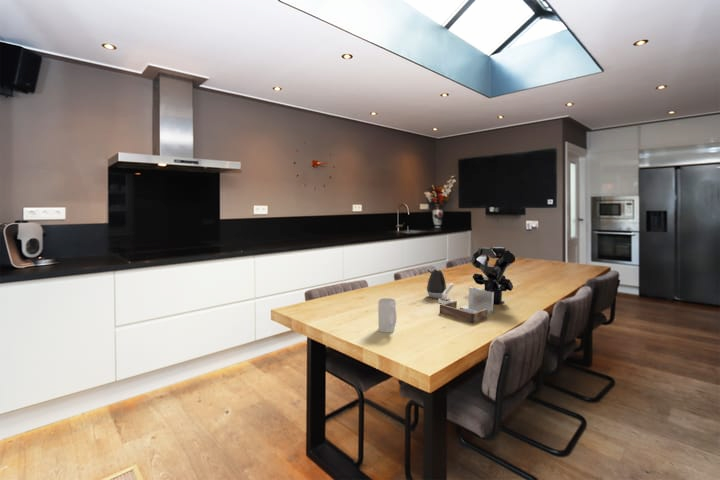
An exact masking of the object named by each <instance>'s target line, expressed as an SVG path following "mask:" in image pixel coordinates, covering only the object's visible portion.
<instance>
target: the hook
mask: <svg viewBox="0 0 720 480" xmlns="http://www.w3.org/2000/svg"><path fill="white" fill-rule="evenodd" d="M454 285H455V284H453V283H451V282H450V284H449V285H448V286H446V290H445V291H444V292H443V293H442V298H438V299H437V303H438V304H440V303H441V304H445V303H448V302H452V301H453V299H452V298H449V297H448V293H449V292H450V291H451V290H452V289H453V288H454ZM446 300H447V301H446ZM441 304H440V305H441Z"/></svg>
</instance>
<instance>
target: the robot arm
mask: <svg viewBox="0 0 720 480" xmlns="http://www.w3.org/2000/svg"><path fill="white" fill-rule="evenodd" d="M490 258H491V259H496V260H495V262H494V264H493V265H492V266H490V264H489V261H490ZM515 261H516V256H515V255H514V254H513V252H510V249H508V250H507V249H506V247H504V246H491V247H479V248H478V249H477V251H476V252H474V253H473V255H472V257H471V262H470V263H471V265H472V266H473V267H474V268H477V269H479V270H480V271H482V273H483V274H484V275H483V274H481V273H476V272H475V273H474V274H473V275H472V279H473V281H474V282H475V284H477V285H480V286H482V285H483V286H484V289H483V290H487V291H492V292H494V300H493V305H494V304H495V305H501V304H504V303H505V301H503V292H507V291H509V292H512V291H513V289H514V285H513V283H512V280H511V279H509V278H507V277H506V275H504V273H505V272H506V269H507V268H509V267H510V266H511V265H512V264H513V263H515Z"/></svg>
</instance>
